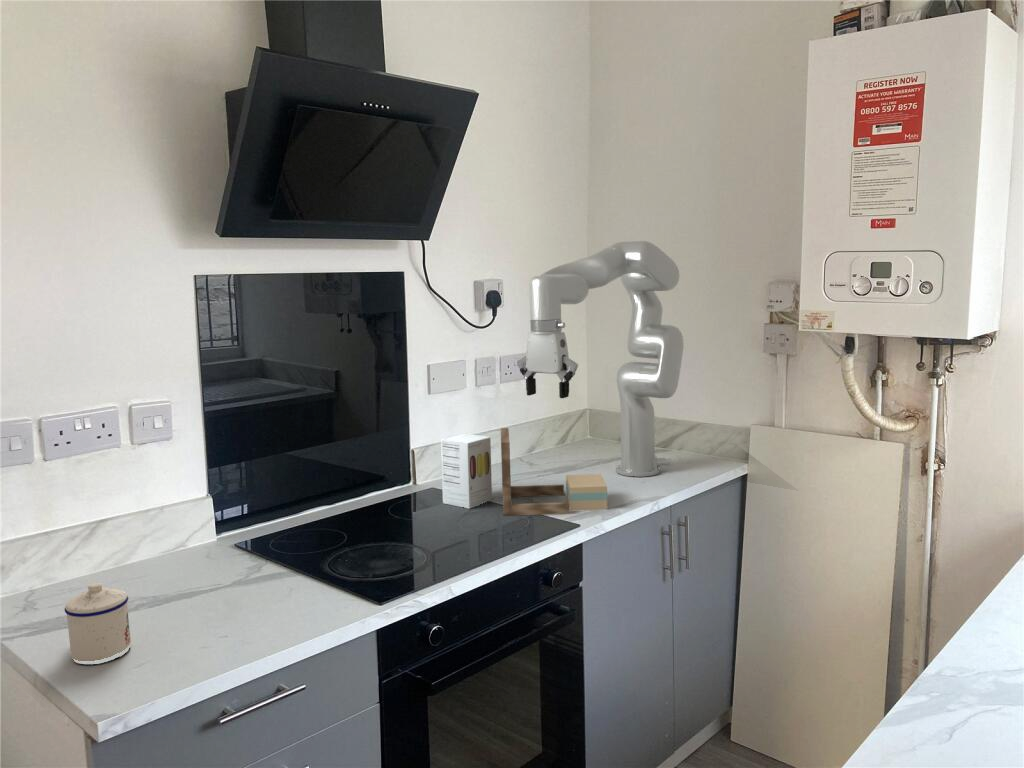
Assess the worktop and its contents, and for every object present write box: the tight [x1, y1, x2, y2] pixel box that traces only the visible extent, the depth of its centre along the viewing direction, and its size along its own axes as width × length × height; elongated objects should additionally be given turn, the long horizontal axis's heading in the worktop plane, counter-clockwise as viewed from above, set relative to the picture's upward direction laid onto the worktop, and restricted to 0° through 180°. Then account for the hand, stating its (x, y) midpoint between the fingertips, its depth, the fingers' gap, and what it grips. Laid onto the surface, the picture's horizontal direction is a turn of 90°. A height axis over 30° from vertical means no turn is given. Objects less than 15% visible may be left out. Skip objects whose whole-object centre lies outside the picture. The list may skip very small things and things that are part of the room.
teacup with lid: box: [64, 582, 132, 661], centre depth 133 cm, size 12×9×12 cm
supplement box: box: [440, 433, 493, 510], centre depth 211 cm, size 10×9×17 cm
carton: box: [565, 473, 608, 511], centre depth 209 cm, size 9×12×6 cm
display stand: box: [500, 427, 571, 517], centre depth 208 cm, size 16×17×18 cm
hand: (547, 396), depth 205 cm, fingers open, 9 cm apart
